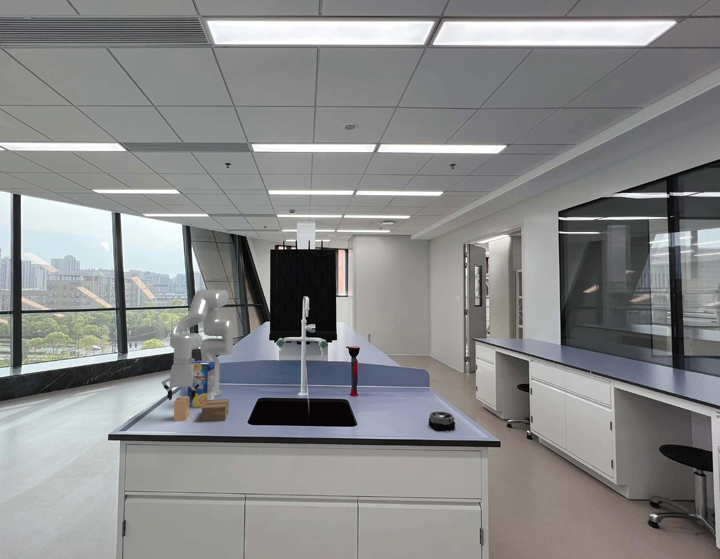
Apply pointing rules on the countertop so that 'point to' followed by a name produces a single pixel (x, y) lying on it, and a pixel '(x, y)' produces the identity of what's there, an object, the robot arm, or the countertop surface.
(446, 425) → the cpu cooler
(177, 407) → the carton
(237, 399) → the countertop surface
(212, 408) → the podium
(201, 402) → the blue tall cardboard box
